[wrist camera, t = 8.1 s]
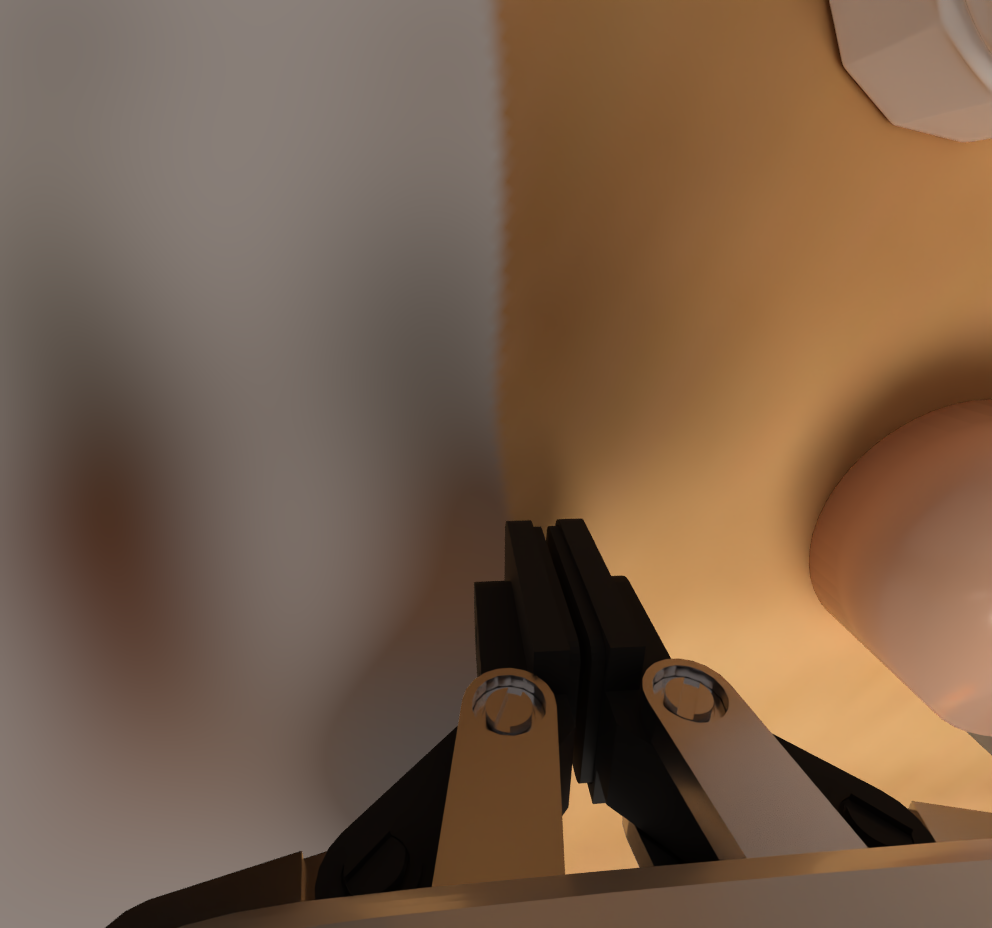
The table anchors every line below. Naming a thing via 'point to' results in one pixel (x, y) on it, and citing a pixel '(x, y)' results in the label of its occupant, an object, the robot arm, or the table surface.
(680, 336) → the table surface
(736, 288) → the table surface
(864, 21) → the white cup
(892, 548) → the beige flattened dome
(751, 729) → the robot arm
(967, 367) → the table surface
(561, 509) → the table surface
